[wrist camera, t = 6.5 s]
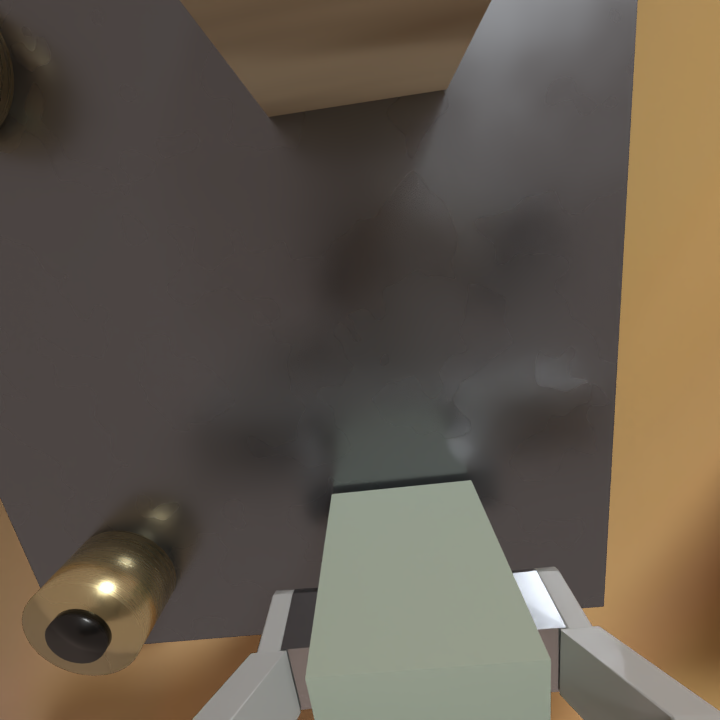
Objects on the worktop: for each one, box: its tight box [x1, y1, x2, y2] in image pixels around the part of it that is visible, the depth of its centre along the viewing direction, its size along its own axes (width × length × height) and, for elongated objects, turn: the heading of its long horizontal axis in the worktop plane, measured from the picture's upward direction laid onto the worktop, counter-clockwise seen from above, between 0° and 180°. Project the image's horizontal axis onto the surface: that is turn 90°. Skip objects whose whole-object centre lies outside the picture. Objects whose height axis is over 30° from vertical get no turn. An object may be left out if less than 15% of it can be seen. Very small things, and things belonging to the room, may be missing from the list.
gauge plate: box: [0, 0, 638, 676], centre depth 10 cm, size 20×18×4 cm
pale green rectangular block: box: [305, 480, 551, 720], centre depth 9 cm, size 4×4×5 cm
